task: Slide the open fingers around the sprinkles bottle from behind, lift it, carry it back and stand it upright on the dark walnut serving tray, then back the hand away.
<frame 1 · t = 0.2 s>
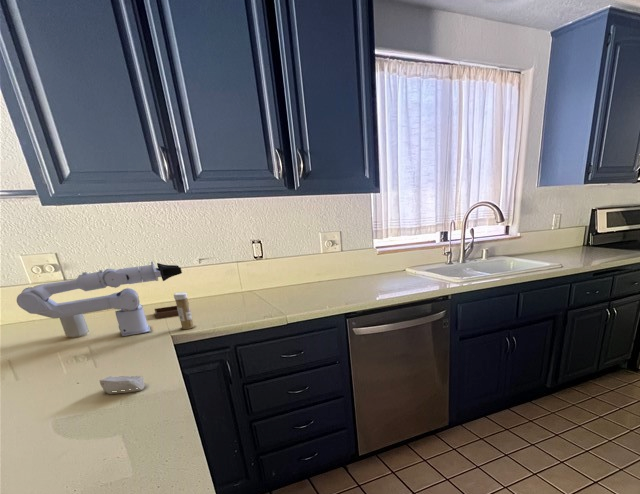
hand: (180, 269, 162), 21 cm above the counter, tool horizontal, fingers open, 7 cm apart
sprinkles bottle: (188, 328, 166), on the counter
can: (78, 335, 161), on the counter
tray: (170, 313, 184), on the counter
grey rock: (125, 390, 116), on the counter
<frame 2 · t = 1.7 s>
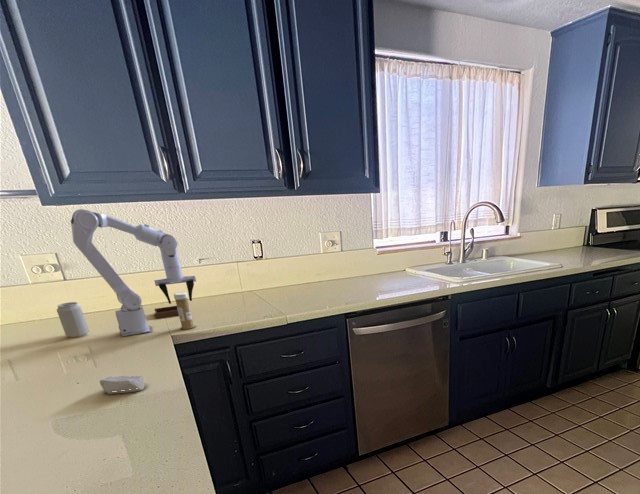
hand: (180, 301, 169), 8 cm above the counter, tool pointing down, fingers open, 7 cm apart
nothing on the counter moved.
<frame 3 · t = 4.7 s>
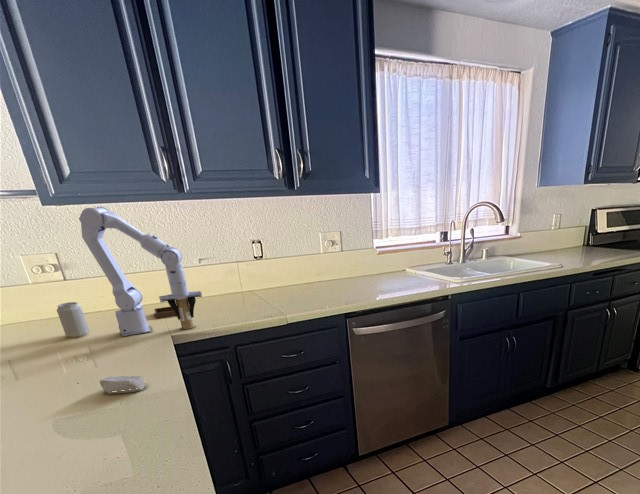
hand: (185, 317, 164), 4 cm above the counter, tool pointing down, fingers closed on sprinkles bottle, 4 cm apart
sprinkles bottle: (188, 328, 166), on the counter, touching gripper
everything else where it was.
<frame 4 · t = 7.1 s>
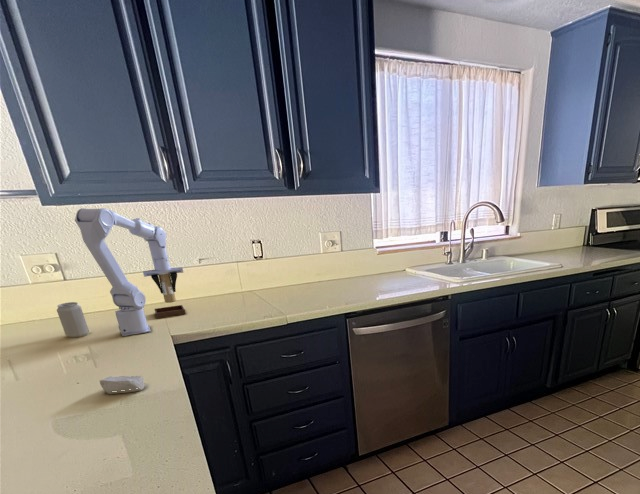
hand: (168, 292, 176), 10 cm above the counter, tool pointing down, fingers closed on sprinkles bottle, 4 cm apart
sprinkles bottle: (170, 302, 177), point 6 cm above the counter, touching gripper
everything else where it was.
when the fingers open (5 cm above the counter, at t = 9.6 s): sprinkles bottle stays where it is, resting on tray.
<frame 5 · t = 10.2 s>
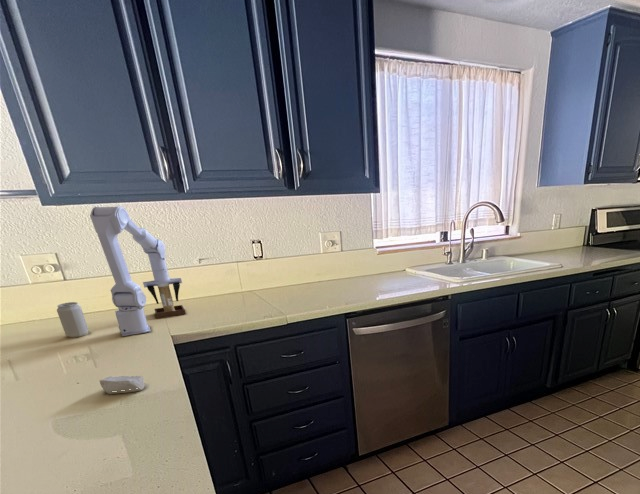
hand: (167, 302, 182), 5 cm above the counter, tool pointing down, fingers open, 7 cm apart
sprinkles bottle: (170, 313, 184), resting on tray
everything else where it was.
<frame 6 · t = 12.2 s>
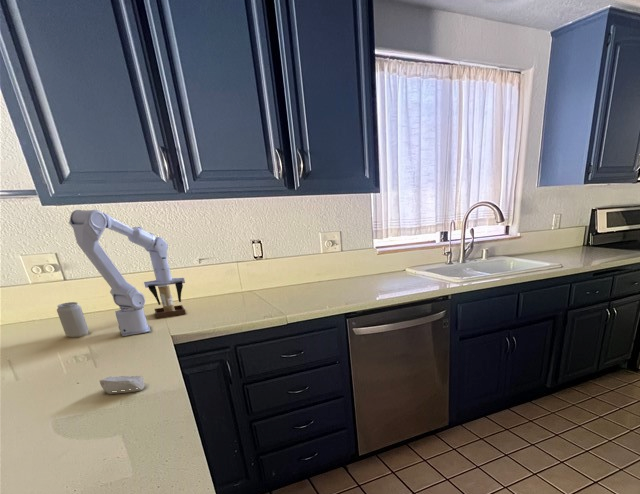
hand: (169, 302, 173), 7 cm above the counter, tool pointing down, fingers open, 7 cm apart
nothing on the counter moved.
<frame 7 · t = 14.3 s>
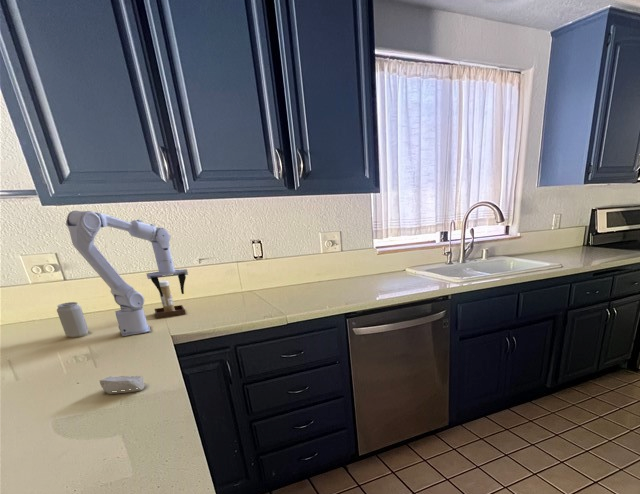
hand: (172, 294, 171), 10 cm above the counter, tool pointing down, fingers open, 7 cm apart
nothing on the counter moved.
at the end: sprinkles bottle inside the target area in the tray (0.1 cm from its centre), point 0.4 cm above the tray's base; sprinkles bottle tilted 0° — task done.
